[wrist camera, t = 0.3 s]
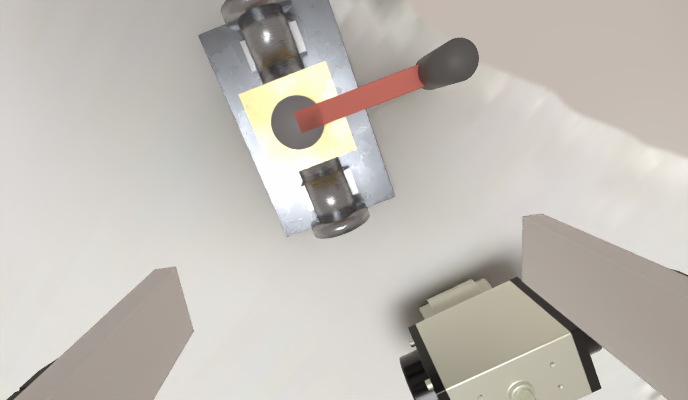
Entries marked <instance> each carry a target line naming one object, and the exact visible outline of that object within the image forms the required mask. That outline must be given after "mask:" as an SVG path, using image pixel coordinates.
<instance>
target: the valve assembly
mask: <svg viewBox="0 0 688 400" xmlns="http://www.w3.org/2000/svg"><path fill="white" fill-rule="evenodd" d="M221 13H222V15H223V17H224V20H225V22H226V25H223V26H221V27H218V28H215V29H213V30H210V31H208V32H205V33H203V34H200V35H198V36H199V38H200V40H201V43H202V45H203V47H204V49H205V52H206V54H207V56H208V59H209V61H210V63H211V65H212V68H213V70H214V72H215V74H216V77H217V79H218V81H219V83H220V86H221V88H222V90H223V92H224V95H225V97H226V99H227V101H228V104H229V106H230V108H231V110H232V113H233V115H234V117H235V120H236V122H237V124H238V126H239V129H240V131H241V133H242V135H243V138H244V140H245V142H246V144H247V147H248V149H249V151H250V153H251V156H252V158H253V160H254V162H255V165H256V167H257V169H258V171H259V174H260V176H261V178H262V181H263V183H264V185H265V187H266V190H267V192H268V194H269V196H270V199H271V201H272V203H273V205H274V208H275V210H276V212H277V214H278V217H279V219H280V221H281V223H282V226H283V228H284V230H285V232H286V235H287V237H289V236H292V235H294V234H297V233H300V232H302V231H305V230H308V229H310V228H312V230H313V232H314V235H315V237H317V238H321V239H325V238H332V237H336V236H339V235H342V234H345V233H348V232H350V231H352V230H354V229H356V228H358V227H359V226H361V225H362V224H363V223H365V222H366V221H367V220H368V218H369V216H370V215H369V212H368V209H367V207H369V206H372V205H374V204H377V203H380V202H382V201H385V200H388V199H390V198H393V197H395V195H394V192H393V189H392V187H391V184H390V181H389V178H388V175H387V172H386V169H385V166H384V163H383V160H382V157H381V154H380V151H379V148H378V145H377V142H376V139H375V136H374V133H373V131H372V128H371V125H370V122H369V119H368V116H367V113H366V110H365V109H364V110H362V111H359V112H357V113H354V114H351V115H349V116H346V117H343V118H341V119H338V120H336V121H333V122H330V123H328V124H325V125H324V131H323V134H322V136H321V138H320V139H319V140H318V141H317V143H315V144H314V145H313V146H311V147H309V148H306V149H302V150H295V149H290V148H288V147H286V146H284V145H283V144H281V143H280V142H279V141H278V140H277V139H276V137H275V136H274V133H273V131H272V128H271V115H272V112H273V110H274V108H275V106H276V105H277V104H278V103H279V102H280V101H281V100H282V99H284V98H286V97H288V96H292V95H302V96H305V97H308V98H310V99H312V100H313V101H314V102H315V103H316V104H317V103H319V102H322V101H325V100H327V99H330V98H332V97H335V96H338V95H340V94H343V93H345V92H348V91H351V90H353V89H356V88H358V86H357V83H356V80H355V77H354V75H353V72H352V69H351V66H350V63H349V60H348V57H347V54H346V51H345V48H344V45H343V42H342V39H341V36H340V33H339V30H338V27H337V24H336V21H335V19H334V16H333V13H332V10H331V7H330V4H329V1H328V0H226V1H225V2H224V4H223V5H222V7H221Z"/></svg>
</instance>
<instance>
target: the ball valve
mask: <svg viewBox="0 0 688 400" xmlns="http://www.w3.org/2000/svg"><path fill="white" fill-rule="evenodd" d="M427 302H428V304H426V305H424V306H422V307H420V308H419V310H420V312H421V314H422V316H423V318H424V320H423V321H421V322H419V323H417V324H416V325H413V326H410V327H408V328H409V331H410V333H411V336H412V338H411V339H409V343H410V345H411V347H414V346H416V347H417V350H415V351H413V352H411V353H408V354H406V355H404V356H402V357H400V364H401V368H402V371H403V373H404V376H405V379H406V381H407V384H408V386H409V389H410V391H411V393H412V396H413V398H414V400H577V399H579V398H581V397H584V396H586V395H588V394H590V393H593V392H595V391H597V390H599V389H601V386H600V383H599V380H598V377H597V374H596V371H595V368H594V365H593V362H592V359H591V356H590V355H592V354H594V353H596V352H598V351H600V350H601V349H602V346H601V345H600V344H599V343H597V342H596V341H595V340H594V339H592V338H591V337H590V336H589V335H587V334H586V333H585V332H584V331H582V330H581V329H580V328H579V327H578V326H576V325H575V324H574V323H573V322H571V321H570V320H569V319H568V318H566V317H565V316H564V315H563V314H562V313H560V312H559V311H558V310H557V309H555V308H554V307H553V306H552V305H550V304H549V303H548V302H547V301H546V300H544V299H543V298H542V297H541V296H539V295H538V294H537V293H536V292H534V291H533V290H532V289H531V288H530V287H528V286H527V285H526V284H525V283H523V282H522V280H520V279H519V278H518V277H515V278H513V279H511V280H509V281H507V282H505V283H502V284H500V285H498V286H496V287H494V288H492V287H491V285H490V284H489V283H488V282H487V280H486V279H484V278H483V279H480V280H477V281H475V282H474V281H473V280H472V279H470V280H468V281H465V282H463V283H461V284H459V285H457V286H455V287H453V288H451V289H449V290H446V291H444V292H442V293H440V294H438V295H436V296H434V297H431V298H429V299H427ZM416 326H417V327H416Z"/></svg>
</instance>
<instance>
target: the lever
mask: <svg viewBox="0 0 688 400" xmlns="http://www.w3.org/2000/svg"><path fill="white" fill-rule="evenodd" d="M478 62H479V55H478V51H477V48H476V47H475V45H474V44H473V43H472V42H471V41H470V40H468V39H465V38H455V39H452V40H450V41H448V42H447V43H445V44H443V45H442V46H440V47H439V48H437V49H435V50H434V51H432V52H430V53H429V54H427V55H426V56H424V57H422V58H421V59H420V60H419V61H418V62H417V64H416V66H413V67H411V68H408V69H405V70H403V71H400V72H398V73H395V74H392V75H390V76H387V77H384V78H382V79H379V80H377V81H374V82H371V83H369V84H366V85H364V86H361V87H358V88H356V89H353V90H351V91H348V92H345V93H343V94H340V95H338V96H335V97H332V98H330V99H327V100H325V101H322V102H319V103H317V104H316V103H315V102H314V101H313V100H312V99H310V98H308V97H305V96H302V95H292V96H288V97H286V98H284V99H282V100H281V101H280V102H279V103H278V104H277V105H276V106H275V108H274V110H273V112H272V115H271V128H272V131H273V133H274V136H275V137H276V139H277V140H278V141H279V142H280V143H281V144H283V145H284V146H286V147H288V148H290V149H295V150H302V149H306V148H309V147H311V146H313V145H314V144H315V143H317V141H318V140H319V139H320V138H321V136H322V134H323V131H324V125H325V124H328V123H330V122H333V121H336V120H338V119H341V118H343V117H346V116H349V115H351V114H354V113H357V112H359V111H362V110H364V109H367V108H370V107H372V106H375V105H377V104H380V103H383V102H385V101H388V100H391V99H393V98H396V97H398V96H401V95H404V94H406V93H409V92H412V91H414V90H417V89H419V88H423V89H426V90H432V89H436V88H440V87H443V86H447V85H451V84H454V83H458V82H462V81H465V80H467V79H468V78H470V77H471V76H472V75H473V73H474V72H475V70H476V68H477V66H478Z"/></svg>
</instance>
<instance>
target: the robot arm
mask: <svg viewBox="0 0 688 400" xmlns="http://www.w3.org/2000/svg"><path fill="white" fill-rule="evenodd" d="M522 282H523V283H525V284H526V285H527V286H528V287H530V288H531V289H532V290H533V291H534V292H536V293H537V294H538V295H539V296H541V297H542V298H543V299H544V300H546V301H547V302H548V303H549V304H550V305H552V306H553V307H554V308H555V309H557V310H558V311H559V312H560V313H562V314H563V315H564V316H565V317H566V318H568V319H569V320H570V321H571V322H573V323H574V324H575V325H576V326H578V327H579V328H580V329H581V330H582V331H584V332H585V333H586V334H587V335H589V336H590V337H591V338H592V339H594V340H595V341H596V342H597V343H599V344H600V345H601V346H602V347H603V348H605V349H606V350H607V351H608V352H610V353H611V354H612V355H613V356H615V357H616V358H617V359H618V360H619V361H621V362H622V363H623V364H624V365H626V366H627V367H628V368H629V369H631V370H632V371H633V372H634V373H635V374H637V375H638V376H639V377H640V378H642V379H643V380H644V381H645V382H647V383H648V384H649V385H650V386H651V387H653V388H654V389H655V390H656V391H658V392H659V393H660V394H661V395H663V396H664V397H665V398H666V399H668V400H688V275H686V274H684V273H681V272H679V271H676V270H672V269H669V268H666V267H664V266H662V265H659V264H657V263H655V262H652V261H650V260H648V259H646V258H643V257H641V256H639V255H636V254H634V253H632V252H629V251H627V250H625V249H622V248H620V247H618V246H616V245H613V244H611V243H609V242H606V241H604V240H602V239H599V238H597V237H595V236H592V235H590V234H588V233H586V232H583V231H581V230H579V229H576V228H574V227H572V226H569V225H567V224H565V223H562V222H560V221H558V220H556V219H553V218H551V217H549V216H546V215H544V214H536V215H529V216H523V230H522ZM193 332H194V330H193V327H192V323H191V319H190V316H189V312H188V309H187V305H186V301H185V298H184V294H183V291H182V287H181V283H180V280H179V276H178V273H177V269H176V267H169V268H162V269H155V270H154V271H153V272H151V273H150V274H149V275H148V276H147V277H146V278H145V279H144V280H143V281H142V282H141V283H140V284H138V285H137V286H136V287H135V288H134V289H133V290H132V291H131V292H130V293H129V294H128V295H127V296H125V297H124V298H123V299H122V300H121V301H120V302H119V303H118V304H117V305H116V306H115V307H114V308H112V309H111V310H110V311H109V312H108V313H107V314H106V315H105V316H104V317H103V318H102V319H100V320H99V321H98V322H97V323H96V324H95V325H94V326H93V327H92V328H91V329H90V330H89V331H87V332H86V333H85V334H84V335H83V336H82V337H81V338H80V339H79V340H78V341H77V342H76V343H74V344H73V345H72V346H71V347H70V348H69V349H68V350H67V351H66V352H65V353H64V354H63V355H61V356H60V357H59V358H58V359H56V360H55V361H53V362H52V363H50V364H49V365H47V366H46V367H44V368H43V369H41V370H39V371H38V372H37V373H36V374H35V375H34V376H33V377H31V378H30V379H29V380H28V381H27V382H26V383H25V384H24V385H23V386H21V387H20V390H19V391H17V392H15V393H14V394H13V395H12V396H10V397H9V398H8V399H7V400H153V399H154V398H155V396H156V394H157V393H158V391H159V389H160V388H161V386H162V384H163V383H164V381H165V379H166V377H167V376H168V374H169V372H170V371H171V369H172V367H173V366H174V364H175V362H176V360H177V359H178V357H179V355H180V354H181V352H182V350H183V349H184V347H185V345H186V344H187V342H188V340H189V338H190V337H191V335H192V333H193Z"/></svg>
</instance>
